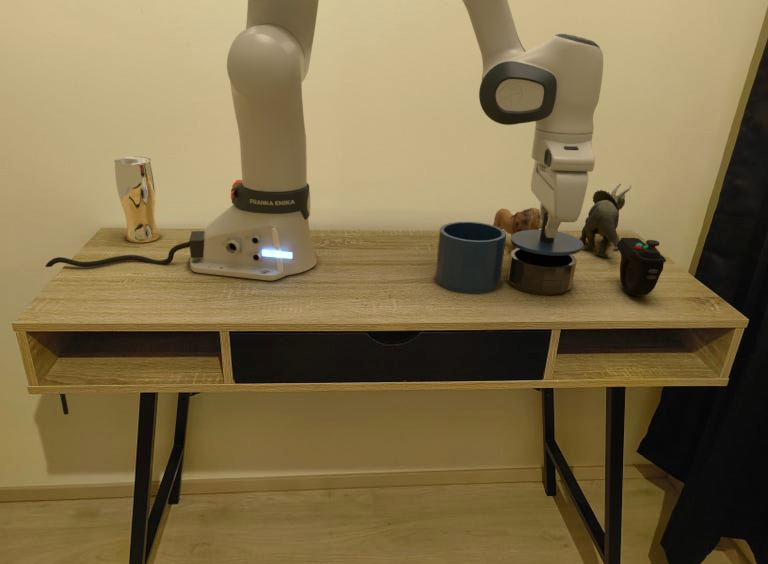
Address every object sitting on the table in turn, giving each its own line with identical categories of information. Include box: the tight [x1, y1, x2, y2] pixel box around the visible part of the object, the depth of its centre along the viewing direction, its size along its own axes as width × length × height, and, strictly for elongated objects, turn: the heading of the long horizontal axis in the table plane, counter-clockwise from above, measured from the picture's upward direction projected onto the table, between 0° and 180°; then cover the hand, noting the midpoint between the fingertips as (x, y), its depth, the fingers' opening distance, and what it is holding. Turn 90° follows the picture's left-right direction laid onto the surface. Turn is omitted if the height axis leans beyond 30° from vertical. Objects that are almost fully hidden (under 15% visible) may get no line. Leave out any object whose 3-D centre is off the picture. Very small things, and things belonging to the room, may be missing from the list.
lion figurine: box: [492, 207, 541, 253], centre depth 134 cm, size 15×5×9 cm, turn 34°
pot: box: [435, 221, 507, 294], centre depth 116 cm, size 11×11×9 cm
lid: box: [510, 212, 584, 256], centre depth 114 cm, size 12×12×6 cm
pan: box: [506, 247, 578, 296], centre depth 117 cm, size 11×11×5 cm
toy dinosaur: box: [578, 183, 632, 259], centre depth 133 cm, size 22×8×11 cm, turn 160°
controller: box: [617, 237, 667, 297], centre depth 114 cm, size 4×12×10 cm, turn 2°
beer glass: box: [113, 156, 160, 244], centre depth 130 cm, size 7×7×15 cm
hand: (547, 233), depth 114 cm, fingers closed on lid, 2 cm apart
